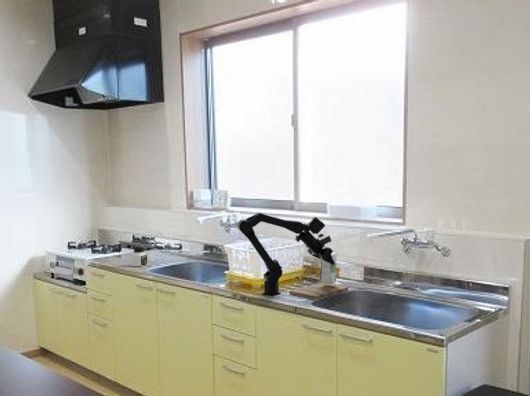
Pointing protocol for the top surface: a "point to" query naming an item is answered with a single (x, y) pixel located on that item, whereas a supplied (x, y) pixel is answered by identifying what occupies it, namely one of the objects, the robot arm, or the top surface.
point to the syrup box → (328, 271)
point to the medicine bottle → (139, 257)
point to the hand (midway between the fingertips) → (330, 262)
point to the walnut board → (318, 291)
